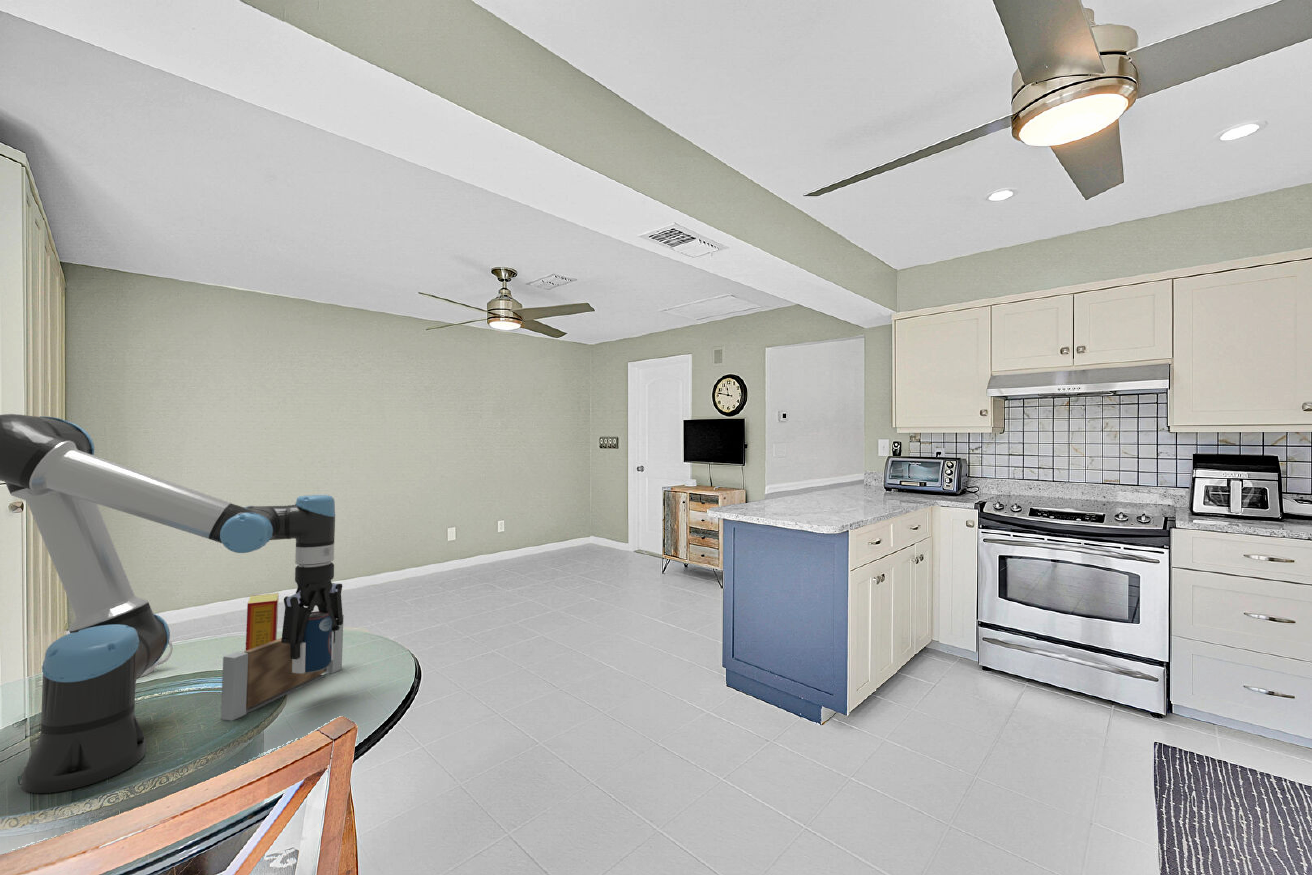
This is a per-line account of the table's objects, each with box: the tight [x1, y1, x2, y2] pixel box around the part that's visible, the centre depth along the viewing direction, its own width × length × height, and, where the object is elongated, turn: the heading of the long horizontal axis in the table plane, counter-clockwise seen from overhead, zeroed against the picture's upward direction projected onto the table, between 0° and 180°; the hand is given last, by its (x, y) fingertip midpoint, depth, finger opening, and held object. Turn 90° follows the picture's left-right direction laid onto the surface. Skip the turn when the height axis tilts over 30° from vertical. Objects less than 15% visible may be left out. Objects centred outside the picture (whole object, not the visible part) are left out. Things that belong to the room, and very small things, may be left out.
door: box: [243, 637, 327, 708], centre depth 130 cm, size 22×3×12 cm, turn 166°
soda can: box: [296, 610, 332, 673], centre depth 124 cm, size 7×7×12 cm
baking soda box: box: [245, 592, 279, 651], centre depth 152 cm, size 10×6×16 cm
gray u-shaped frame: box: [220, 614, 345, 722], centre depth 129 cm, size 29×3×14 cm, turn 166°
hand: (313, 665), depth 124 cm, fingers closed on soda can, 7 cm apart
